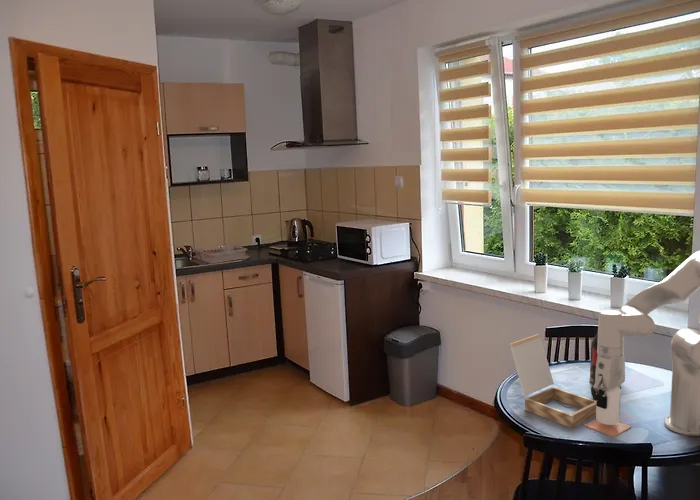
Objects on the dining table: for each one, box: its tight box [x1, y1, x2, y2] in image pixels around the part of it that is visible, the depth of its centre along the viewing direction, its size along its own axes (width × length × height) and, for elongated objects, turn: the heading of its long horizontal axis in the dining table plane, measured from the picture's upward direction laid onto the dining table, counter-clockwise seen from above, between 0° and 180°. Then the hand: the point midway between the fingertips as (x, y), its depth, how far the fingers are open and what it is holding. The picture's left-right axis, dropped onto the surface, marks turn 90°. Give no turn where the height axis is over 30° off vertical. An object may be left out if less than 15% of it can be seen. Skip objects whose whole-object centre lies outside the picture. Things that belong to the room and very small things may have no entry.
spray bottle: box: [595, 384, 622, 425], centre depth 190 cm, size 7×7×18 cm
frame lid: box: [509, 333, 555, 397], centre depth 211 cm, size 18×16×1 cm
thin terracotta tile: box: [583, 418, 632, 438], centre depth 192 cm, size 10×10×1 cm
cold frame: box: [524, 386, 597, 429], centre depth 204 cm, size 18×16×4 cm
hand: (608, 403), depth 191 cm, fingers closed on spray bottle, 6 cm apart
